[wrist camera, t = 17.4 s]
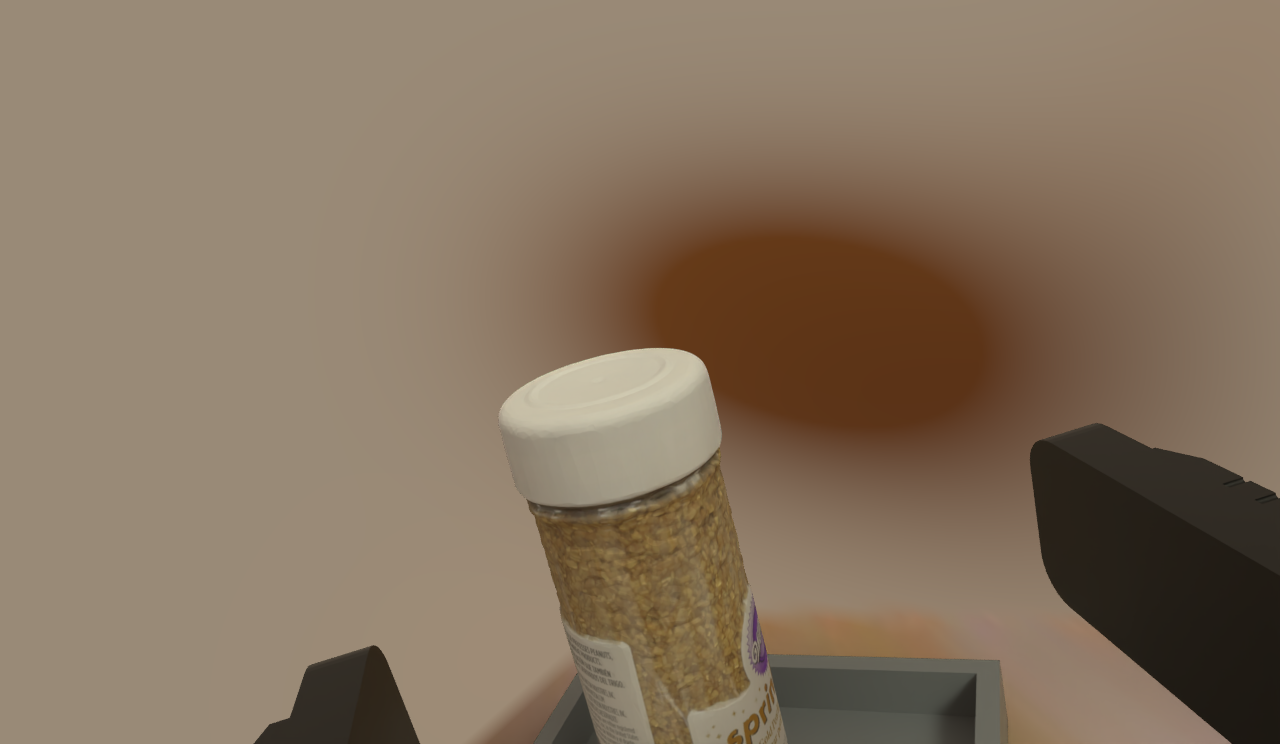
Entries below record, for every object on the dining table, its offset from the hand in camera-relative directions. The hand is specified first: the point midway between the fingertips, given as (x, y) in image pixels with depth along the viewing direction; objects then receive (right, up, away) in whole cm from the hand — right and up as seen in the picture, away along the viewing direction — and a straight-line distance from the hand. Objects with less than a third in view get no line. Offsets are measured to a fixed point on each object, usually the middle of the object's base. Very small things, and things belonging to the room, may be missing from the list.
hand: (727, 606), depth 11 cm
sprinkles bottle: (+1, -10, +12) cm, 16 cm away
